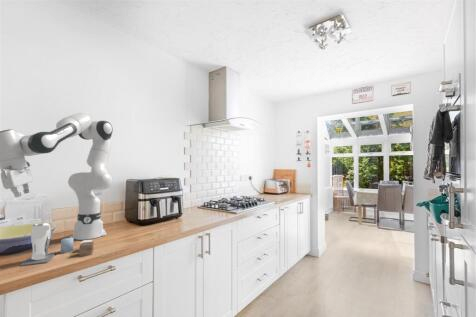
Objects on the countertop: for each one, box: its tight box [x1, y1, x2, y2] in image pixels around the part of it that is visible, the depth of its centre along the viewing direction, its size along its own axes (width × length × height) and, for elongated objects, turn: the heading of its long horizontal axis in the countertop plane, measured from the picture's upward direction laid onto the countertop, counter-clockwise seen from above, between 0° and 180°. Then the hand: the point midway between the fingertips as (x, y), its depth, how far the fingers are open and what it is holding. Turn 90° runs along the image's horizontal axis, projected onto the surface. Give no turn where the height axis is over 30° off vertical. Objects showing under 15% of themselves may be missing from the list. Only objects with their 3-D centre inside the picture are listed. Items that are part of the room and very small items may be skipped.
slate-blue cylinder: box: [60, 237, 75, 254], centre depth 115 cm, size 5×5×6 cm
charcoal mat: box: [19, 252, 56, 267], centre depth 104 cm, size 12×9×1 cm
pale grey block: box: [79, 239, 93, 245], centre depth 118 cm, size 6×4×4 cm, turn 19°
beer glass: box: [30, 222, 52, 261], centre depth 105 cm, size 7×7×15 cm
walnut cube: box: [78, 240, 95, 257], centre depth 112 cm, size 5×5×5 cm
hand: (23, 194), depth 106 cm, fingers open, 8 cm apart
